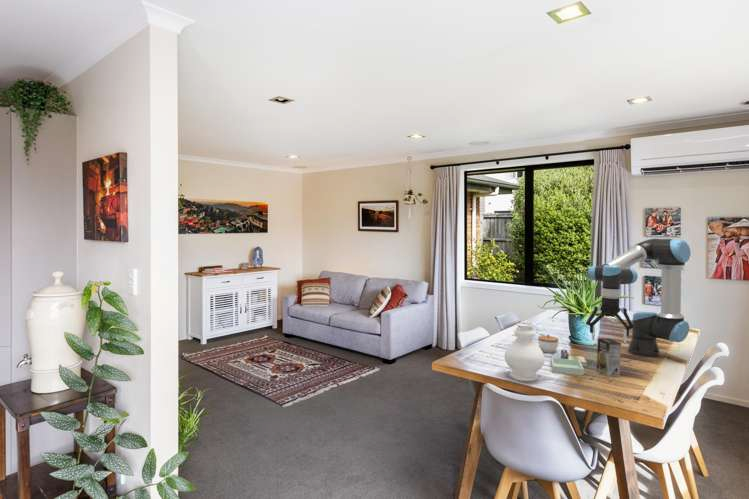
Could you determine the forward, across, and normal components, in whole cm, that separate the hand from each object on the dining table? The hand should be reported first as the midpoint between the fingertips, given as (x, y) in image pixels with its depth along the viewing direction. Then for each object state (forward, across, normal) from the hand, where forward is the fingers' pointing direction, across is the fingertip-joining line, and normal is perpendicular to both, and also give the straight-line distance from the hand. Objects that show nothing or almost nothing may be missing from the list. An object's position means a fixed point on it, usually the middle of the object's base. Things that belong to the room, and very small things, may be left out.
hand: (608, 341), depth 211 cm
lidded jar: (+16, +25, -31) cm, 43 cm away
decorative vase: (+17, +39, +18) cm, 46 cm away
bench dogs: (+16, +18, -14) cm, 28 cm away
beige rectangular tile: (+16, +12, -14) cm, 25 cm away
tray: (+16, +18, 0) cm, 24 cm away
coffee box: (+16, 0, 0) cm, 16 cm away
